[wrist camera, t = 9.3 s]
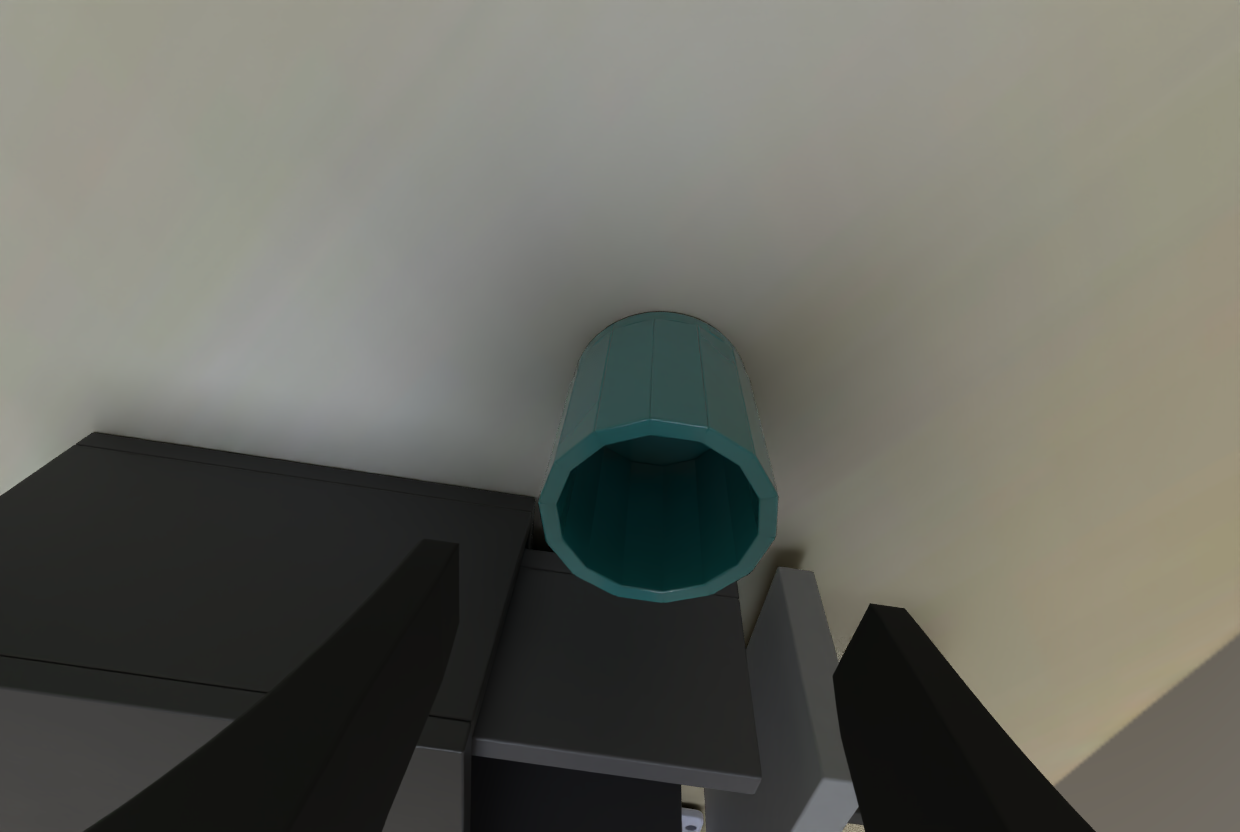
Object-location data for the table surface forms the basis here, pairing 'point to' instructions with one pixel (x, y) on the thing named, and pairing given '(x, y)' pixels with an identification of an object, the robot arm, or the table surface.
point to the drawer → (659, 711)
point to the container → (659, 464)
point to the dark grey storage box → (216, 614)
